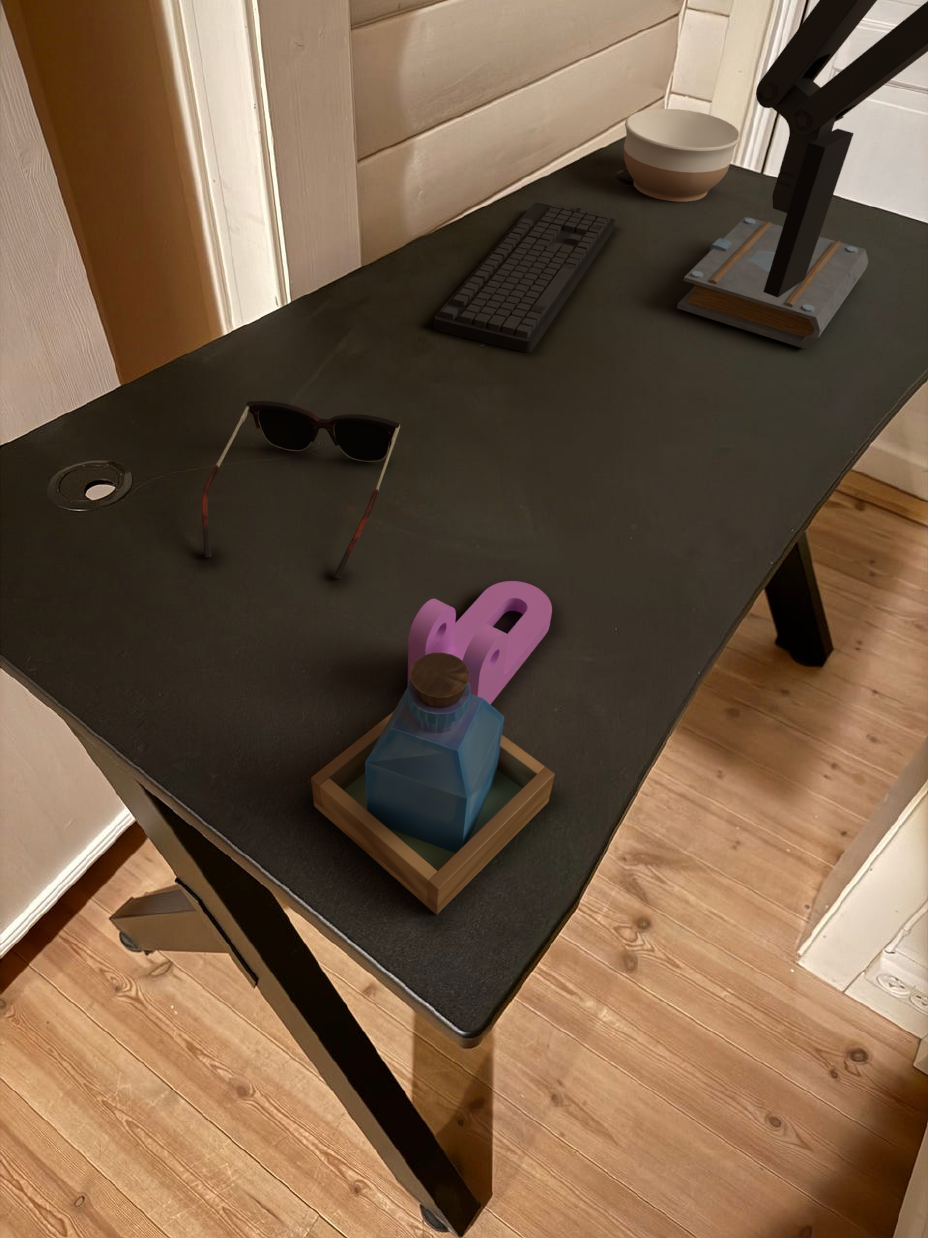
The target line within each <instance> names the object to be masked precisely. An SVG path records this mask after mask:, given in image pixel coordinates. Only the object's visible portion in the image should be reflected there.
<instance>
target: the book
mask: <svg viewBox="0 0 928 1238" xmlns="http://www.w3.org/2000/svg"><path fill="white" fill-rule="evenodd" d="M782 229H783V225H778V224H775V223H772V222H771V221H764V220H760V219H756V218H752V217H750V216H745V217H743V219H741V220H740V222H738V224H736V225H735V226H734V227H733V228H732V230H730V231H729V232H728V234H726V235H725V236H724V237H723V238H721V237H718V238H716V240H714V242H713V243H712V244H711V245H710V246H709V250H708V253H707V254H706V255H705V256H704V257H703V258H702V259H701V260H700V261H699V262H697V264H696V265H695V266H694V267H693V268H692V269H691V270H690V271H689V272H687V274H686V275H685V276H684V278H683V282H687V283H690V284H693V287H692V288H691V290H689V291H688V292H687V293H686V295H684V296H683V298H682V299H681V300H680V301H678V303H677V306H676V307H677V308H676V309H678V310H682V311H685V312H687V313H691V314H694V315H696V316H700V317H703V318H706V319H710V320H713V321H716V322H719V323H723V324H726V325H729V326H731V327H735V328H738V329H740V330H744V331H746V332H747V331H748V332H751V333H754V334H757V335H760V336H763V337H766V338H770V339H773V340H776V341H779V342H782V343H785V344H788V345H792V346H795V347H798V348H800V349H804V350H806V349H807V348H808V347H810V346H811V345H812V344H813V343H814V342H816V341H817V340H818V339H819V338H820V336H821V335H822V334H823V332H824V330H825V329H826V328H827V326H828V324H829V323H830V322H831V320H832V319H833V317H834V316H835V314H836V313H837V311H838V310H839V309H840V307H841V306H842V304H843V303H844V301H845V300H846V298H847V297H848V295H849V294H850V293H851V291H852V290H853V289H854V287H855V285H856V284H857V282H858V281H859V280H860V278H861V277H862V275H863V274H864V272H865V271H866V270H867V267H868V265H869V258H868V255H867V250H866V249H865V248H862V247H859V246H854V245H851V244H848V243H844V242H841V241H840V240H833V239H829V238H826V237H822V236H819V238H818V241H817V244H816V247H815V250H814V253H813V256H812V259H811V262H810V265H809V268H808V271H807V274H806V277H805V280H803V281H802V282H800V283H799V284H797V285H796V286H794V287H793V288H791V289H790V290H788V291H787V292H785V293H784V294H782V295H781V296H779V297H778V298H777V297H775V296H772V295H770V294H767V293H765V292H763V291H764V288H765V285H766V281H767V278H768V275H769V272H770V268H771V265H772V262H773V258H774V255H775V252H776V249H777V245H778V242H779V239H780V235H781V232H782Z"/></svg>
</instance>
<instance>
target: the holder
mask: <svg viewBox="0 0 928 1238" xmlns="http://www.w3.org/2000/svg"><path fill="white" fill-rule="evenodd" d="M393 712H394V710H393V711H392V712H391V713H390V714H388V715H387V716H386V717H385V718H384V719H382V720H380V721H379V722H378V723H377V724H376V725H375V726H373V727H372V728H371V729H370V730H368V731H367V732H366V733H365V734H363V735H362V736H361V737H360V738H358V739H357V740H356V741H355V742H353V743H352V744H351V745H350V746H349V747H347V748H346V749H345V750H344V751H342V752H341V753H340V754H339V755H337V756H336V757H335V758H334V759H332V760H331V761H330V762H329V763H328V764H326V765H325V766H324V767H322V768H321V769H320V770H319V771H318V772H316V773H314V775H313V776H311V778H310V782H311V783H310V784H311V790H312V798H313V799H312V800H313V806H314V807H315V808H316V810H318V811H319V812H320V813H321V814H322V815H324V817H326V818H327V819H328V820H329V821H330V822H331V823H332V824H334V825H335V826H336V827H337V829H339V830H340V831H342V833H343V834H345V835H346V836H347V837H348V838H349V839H351V840H352V842H354V843H355V844H356V845H357V846H358V847H360V849H362V850H363V851H364V852H365V853H366V854H367V855H369V856H370V857H371V858H372V859H373V860H374V861H375V862H376V863H378V864H379V865H380V866H381V868H383V869H384V870H385V871H386V872H388V873H389V874H390V875H391V876H392V877H393V878H394V879H395V880H396V881H398V882H399V883H400V884H401V885H402V886H403V887H404V888H406V890H408V891H409V892H410V893H411V894H412V895H413V896H415V897H416V899H418V900H419V901H420V902H421V903H422V904H424V905H425V906H426V907H427V908H428V909H429V910H430V911H431V912H432V913H434V914H435V915H439V914H440V912H441V911H442V910H443V909H445V908H446V906H448V904H449V903H450V902H451V901H452V900H453V899H454V898H455V897H456V896H457V895H458V894H459V893H461V891H462V890H463V889H464V888H465V887H466V886H467V885H468V884H469V883H470V882H471V881H472V880H473V879H474V878H475V877H476V876H477V875H478V874H479V873H480V872H481V871H482V870H483V869H484V868H485V867H486V866H487V865H488V864H489V863H490V862H491V861H492V860H493V858H495V857H496V856H497V855H498V854H499V853H500V851H502V850H503V849H504V848H505V846H507V845H508V843H510V842H511V841H512V839H513V838H514V837H516V835H518V834H519V832H520V831H522V829H523V828H524V827H526V825H527V824H529V822H530V821H531V820H532V819H533V818H534V817H535V816H536V815H537V814H538V813H539V812H540V811H541V810H542V809H543V808H544V807H546V805H548V803H549V801H550V797H551V793H552V788H553V784H554V780H555V775H556V774H555V772H554V771H552V770H550V769H549V768H548V767H547V766H545V765H544V764H542V763H541V762H539V761H538V760H537V759H536V758H534V757H533V756H531V755H530V754H529V753H527V752H526V751H525V750H523V749H522V748H521V747H520V746H518V745H517V744H515V743H514V742H513V741H511V740H510V739H508V738H507V737H505V735H503V734H502V737H501V744H500V751H499V758H498V765H497V773H496V777H495V779H494V782H493V784H492V786H491V789H490V791H489V793H488V796H487V798H486V800H485V802H484V805H483V807H482V809H481V812H480V814H479V816H478V819H477V821H476V823H475V826H474V828H473V830H472V833H471V835H470V837H469V840H468V842H467V843H466V844H465V845H464V846H463V847H462V848H461V849H460V850H459V851H458V852H457V853H453V852H451V851H448V850H445V849H443V848H440V847H437V846H434V845H432V844H429V843H426V842H424V841H421V840H418V839H416V838H413V837H410V836H408V835H405V834H402V833H400V832H397V831H394V830H392V829H389V828H387V827H386V826H384V825H383V824H382V823H381V822H380V821H379V820H377V819H376V818H375V817H374V816H373V815H372V814H370V813H369V812H368V811H367V792H366V769H365V762H366V760H367V758H368V757H369V755H370V753H371V751H372V749H373V748H374V746H375V744H376V742H377V741H378V739H379V737H380V735H381V733H382V732H383V730H384V728H385V726H386V725H387V723H388V721H389V719H390V717H391V716H392V714H393Z"/></svg>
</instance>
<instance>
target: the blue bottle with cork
mask: <svg viewBox="0 0 928 1238" xmlns="http://www.w3.org/2000/svg"><path fill="white" fill-rule="evenodd" d="M410 673H411V679H410V681H409V684H408V683H407V688H406V689H405V690H404V692H403V694H402V696H401V697H400V699H399V702H398V703H397V705H396V707H395V709H394V710H393V711H394V712H393V711H392V712H393V714H392V716H391V717H390V719H389V721H388V723H387V725H386V726H385V728H384V730H383V732H382V733H381V735H380V737H379V739H378V741H377V742H376V744H375V746H374V748H373V749H372V751H371V753H370V755H369V757H368V758H367V760H366V762H365V769H366V792H367V811H368V812H369V813H370V814H372V815H373V816H374V817H375V818H376V819H377V820H379V821H380V822H381V823H382V824H383V825H384V826H386V827H387V828H389V829H392V830H394V831H397V832H400V833H402V834H405V835H408V836H410V837H413V838H416V839H418V840H421V841H424V842H426V843H429V844H432V845H434V846H437V847H440V848H443V849H445V850H448V851H451V852H453V853H457V852H458V851H459V850H460V849H461V848H462V847H463V846H464V845H465V844H466V843H467V842H468V840H469V837H470V835H471V833H472V830H473V828H474V826H475V823H476V821H477V819H478V816H479V814H480V812H481V809H482V807H483V805H484V802H485V800H486V798H487V796H488V793H489V791H490V789H491V786H492V784H493V782H494V779H495V777H496V773H497V765H498V758H499V751H500V744H501V737H502V735H503V730H504V722H505V716H504V715H503V714H501V712H499V711H498V710H497V709H496V708H495V707H494V706H493V705H492V704H489V703H488V702H487V701H486V700H485V699H484V698H481V697H478V696H475V695H472V694H471V689H470V683H469V682H468V680H469V670H468V668H467V666H466V664H465V663H464V662H463V661H462V660H461V659H459V658H458V657H456V656H454V655H452V654H448V653H442V652H440V653H431V654H427V655H424V656H423V657H421V658H419V659H418V660H417V661H416V662H415V663H414V665H413V666H412V669H411V672H410Z"/></svg>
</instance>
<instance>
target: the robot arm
mask: <svg viewBox="0 0 928 1238" xmlns="http://www.w3.org/2000/svg"><path fill="white" fill-rule="evenodd" d="M877 2H878V0H818V2H817V3H816V4H815V6H813V8H812V10H811V11H810V12H809V14H808V15H807V17H806V18H805V19H804V21H803V22H802V23H801V25H800V26H799V28H798V29H797V31H795V33H794V35H792V37H791V38H790V40H789V41H788V43H786V44H785V46H784V48H783V49H782V50H781V52H780V53H779V54H778V56H777V57H776V59H775V60H774V61H773V62H772V64H771V66H770V67H769V69H767V71H766V72H765V74H764V75H763V77H762V78H761V79H760V80H759V82H758V84H757V86H756V91H755V97H756V101H757V102H758V104H759V105H760V106H761V107H762V108H763V109H773V110H774V111H775V112H776V113H777V114H779V116H781V117H782V118H783V119H784V120H785V122H786V124H787V127H788V131H789V133H788V134H789V135H788V139H787V143H786V147H785V150H784V153H783V157H782V161H781V164H780V167H779V172H778V174H777V178H776V182H775V184H774V189H773V192H772V196H771V197H772V198H771V199H772V209H774V210H777V211H779V212H783V213H785V214H786V216H785V219H784V223H783V225H782V227H783V229H782V232H781V235H780V239H779V242H778V245H777V249H776V252H775V255H774V258H773V262H772V265H771V268H770V272H769V275H768V278H767V281H766V285H765V288H764V291H763V292H765V293H767V294H770V295H772V296H775V297H777V298H778V297H779V296H781V295H782V294H784V293H785V292H787V291H788V290H790V289H791V288H793V287H794V286H796V285H797V284H799V283H800V282H802V281H803V280H805V277H806V274H807V271H808V268H809V265H810V262H811V259H812V256H813V253H814V250H815V247H816V244H817V241H818V238H819V237H820V235H821V232H822V230H823V226H824V223H825V221H826V217H827V214H828V211H829V209H830V205H831V202H832V199H833V196H834V194H835V191H836V188H837V184H838V181H839V178H840V175H841V172H842V169H843V167H844V164H845V161H846V158H847V155H848V152H849V149H850V146H851V143H852V140H853V137H854V134H855V133H854V132H852V131H848V130H844V129H841V128H836V129H833V128H834V125H835V123H836V122H838V121H840V120H843V119H844V118H845V116H846V115H847V114H848V113H849V112H850V111H852V110H854V108H856V107H857V106H859V105H860V104H861V103H862V102H863V101H865V100H866V99H868V98H869V97H871V95H873V94H874V93H875V92H877V91H878V90H879V89H881V88H882V87H883V86H885V85H886V84H888V83H889V82H890V81H891V80H893V79H894V78H896V76H898V75H899V74H901V73H902V72H904V71H905V70H906V69H907V68H909V66H911V65H912V64H913V63H915V62H916V61H917V60H918V59H920V58H922V57H923V56H924V55H925V54H927V53H928V0H927V1H926V2H924V3H923V4H922V5H921V6H920V7H918V8H917V9H916V10H914V11H913V12H912V13H911V14H909V15H908V16H907V17H906V18H904V19H903V21H901V22H900V23H898V24H897V25H896V26H895V27H893V29H891V30H890V31H889V32H888V33H886V34H885V35H884V36H882V37H881V38H880V39H879V40H878V41H876V42H875V43H874V44H873V45H871V46H870V47H869V48H868V49H866V50H865V51H864V52H863V53H861V54H860V55H859V56H858V57H856V59H854V60H853V61H852V62H851V63H849V64H848V65H847V66H845V67H844V68H843V69H842V70H841V71H839V72H838V73H836V75H835V76H833V77H832V78H831V79H830V80H828V81H827V82H826V83H825V84H823V85H822V86H820V85H819V84H817V82H815V81H816V79H817V78H818V76H819V75H820V73H822V71H823V70H824V69H825V68H826V66H827V65H828V63H830V61H831V60H832V58H833V57H834V56H835V54H837V52H838V51H839V50H840V48H841V47H842V46H843V44H844V43H845V42H846V41H847V39H848V38H849V37H850V35H851V34H853V32H854V31H855V29H856V28H857V27H858V26H859V25H860V23H861V22H862V21H863V19H864V18H865V16H866V15H867V14H868V13H869V12H870V10H871V9H872V8H873V6H874V5H875V4H876V3H877Z"/></svg>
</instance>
